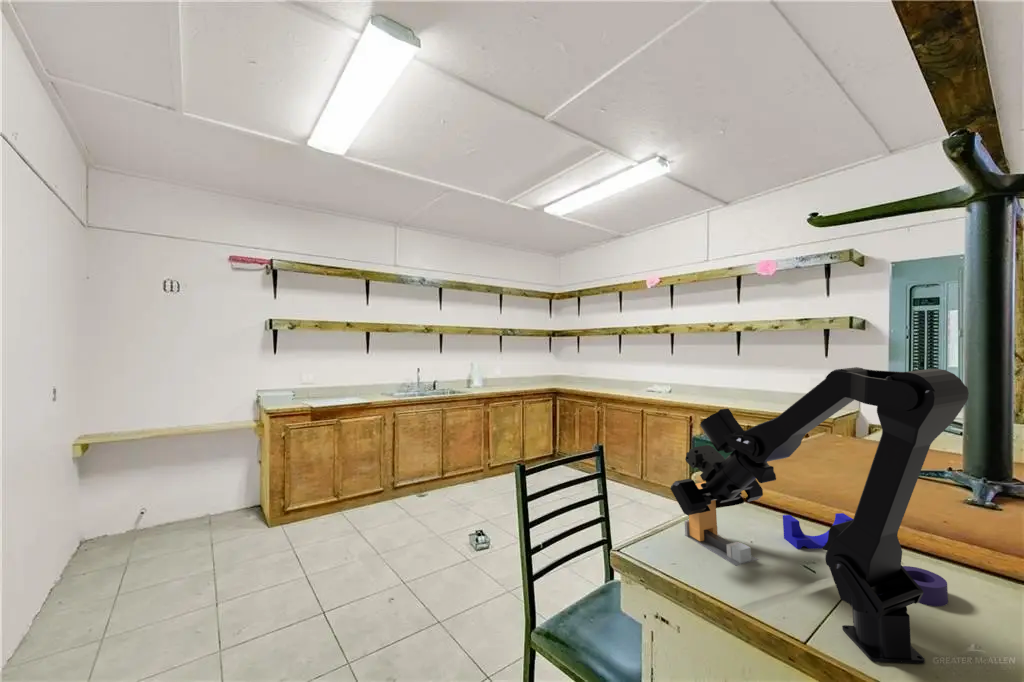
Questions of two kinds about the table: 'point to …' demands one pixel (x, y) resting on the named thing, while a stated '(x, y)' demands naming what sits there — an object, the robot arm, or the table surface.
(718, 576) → the table surface
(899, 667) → the table surface
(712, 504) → the orange block
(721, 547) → the grey pronged base
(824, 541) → the cable clip
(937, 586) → the lever
